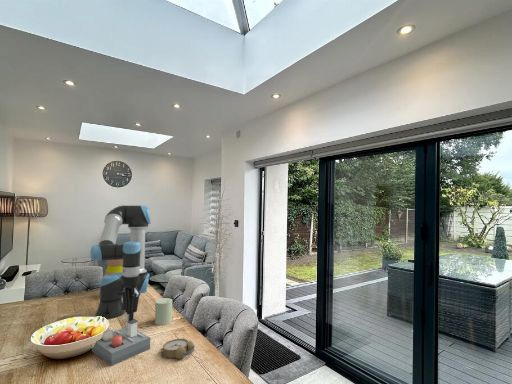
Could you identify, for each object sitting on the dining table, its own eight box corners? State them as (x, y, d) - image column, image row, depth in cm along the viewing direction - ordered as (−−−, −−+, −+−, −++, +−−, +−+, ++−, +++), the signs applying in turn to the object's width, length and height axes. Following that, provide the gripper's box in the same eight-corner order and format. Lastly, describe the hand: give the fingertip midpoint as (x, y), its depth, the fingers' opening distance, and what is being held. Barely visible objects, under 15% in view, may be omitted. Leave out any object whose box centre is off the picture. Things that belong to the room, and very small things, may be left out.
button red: (109, 347, 117) (109, 337, 118) (119, 343, 121) (119, 334, 121) (114, 350, 115) (114, 340, 115) (123, 346, 118) (123, 336, 118)
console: (91, 350, 122) (91, 337, 122) (128, 336, 136) (129, 324, 136) (111, 365, 111) (112, 351, 111) (150, 348, 124) (150, 336, 124)
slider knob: (126, 335, 125) (127, 321, 125) (133, 333, 128) (134, 318, 128) (130, 337, 123) (131, 322, 124) (137, 335, 126) (137, 320, 126)
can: (166, 326, 148) (167, 303, 148) (151, 324, 150) (151, 302, 150) (175, 319, 157) (175, 297, 157) (160, 317, 159) (160, 296, 159)
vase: (94, 298, 191) (96, 254, 192) (115, 289, 212) (117, 249, 214) (123, 300, 187) (124, 255, 189) (141, 290, 209) (143, 250, 210)
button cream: (101, 341, 122) (101, 332, 122) (110, 338, 125) (110, 329, 126) (105, 344, 120) (105, 334, 120) (114, 340, 123) (114, 331, 123)
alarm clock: (175, 337, 130) (199, 338, 123) (176, 348, 129) (201, 350, 122) (156, 347, 120) (182, 349, 113) (157, 359, 119) (183, 362, 112)
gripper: (116, 274, 129) (114, 325, 128) (130, 279, 122) (128, 333, 120) (131, 271, 135) (129, 320, 134) (146, 275, 128) (144, 327, 126)
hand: (129, 326), depth 127 cm, fingers closed
